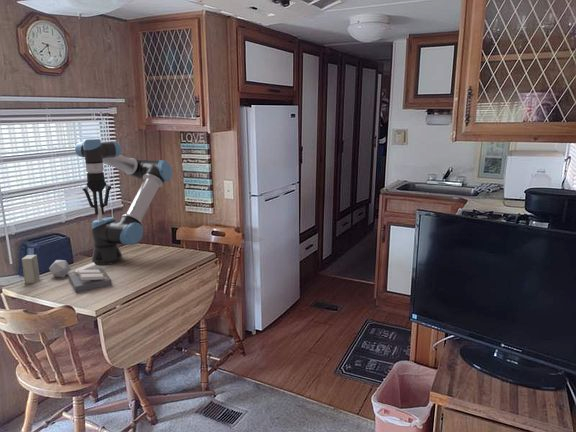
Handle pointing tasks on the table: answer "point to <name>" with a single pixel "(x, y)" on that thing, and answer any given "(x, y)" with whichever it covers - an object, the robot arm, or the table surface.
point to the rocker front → (91, 276)
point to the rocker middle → (88, 272)
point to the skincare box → (30, 268)
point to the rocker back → (86, 267)
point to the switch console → (89, 281)
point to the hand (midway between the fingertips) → (100, 220)
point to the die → (59, 268)
